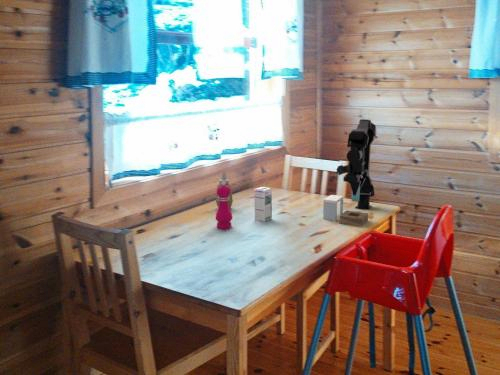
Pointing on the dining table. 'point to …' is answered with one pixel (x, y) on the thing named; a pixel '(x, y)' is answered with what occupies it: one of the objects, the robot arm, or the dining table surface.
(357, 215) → the socket
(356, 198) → the peg
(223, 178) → the squeeze bottle
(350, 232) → the dining table surface
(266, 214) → the syrup box
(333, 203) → the small white footstool
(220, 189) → the pepper mill
